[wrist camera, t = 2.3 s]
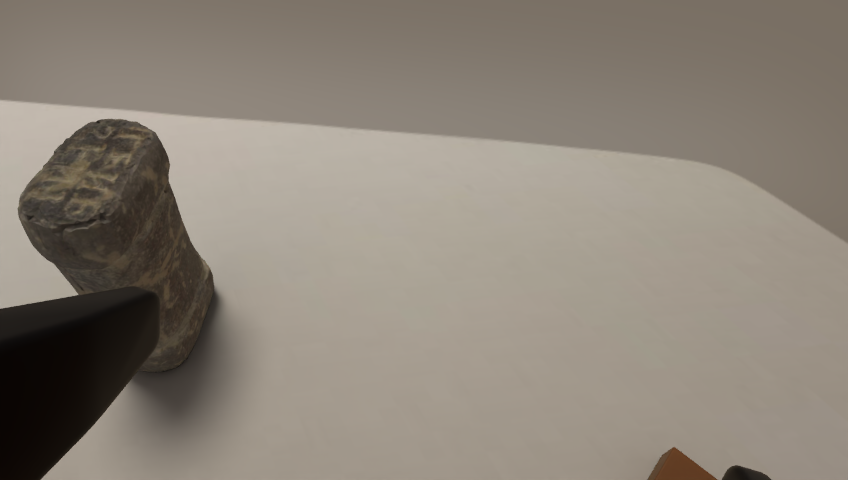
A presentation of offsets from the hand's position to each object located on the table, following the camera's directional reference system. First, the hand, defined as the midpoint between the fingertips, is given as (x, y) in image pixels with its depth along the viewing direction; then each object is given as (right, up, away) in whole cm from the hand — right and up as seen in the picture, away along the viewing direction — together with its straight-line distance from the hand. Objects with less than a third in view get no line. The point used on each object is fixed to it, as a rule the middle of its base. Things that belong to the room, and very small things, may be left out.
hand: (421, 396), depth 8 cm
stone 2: (-11, -1, +17) cm, 20 cm away
